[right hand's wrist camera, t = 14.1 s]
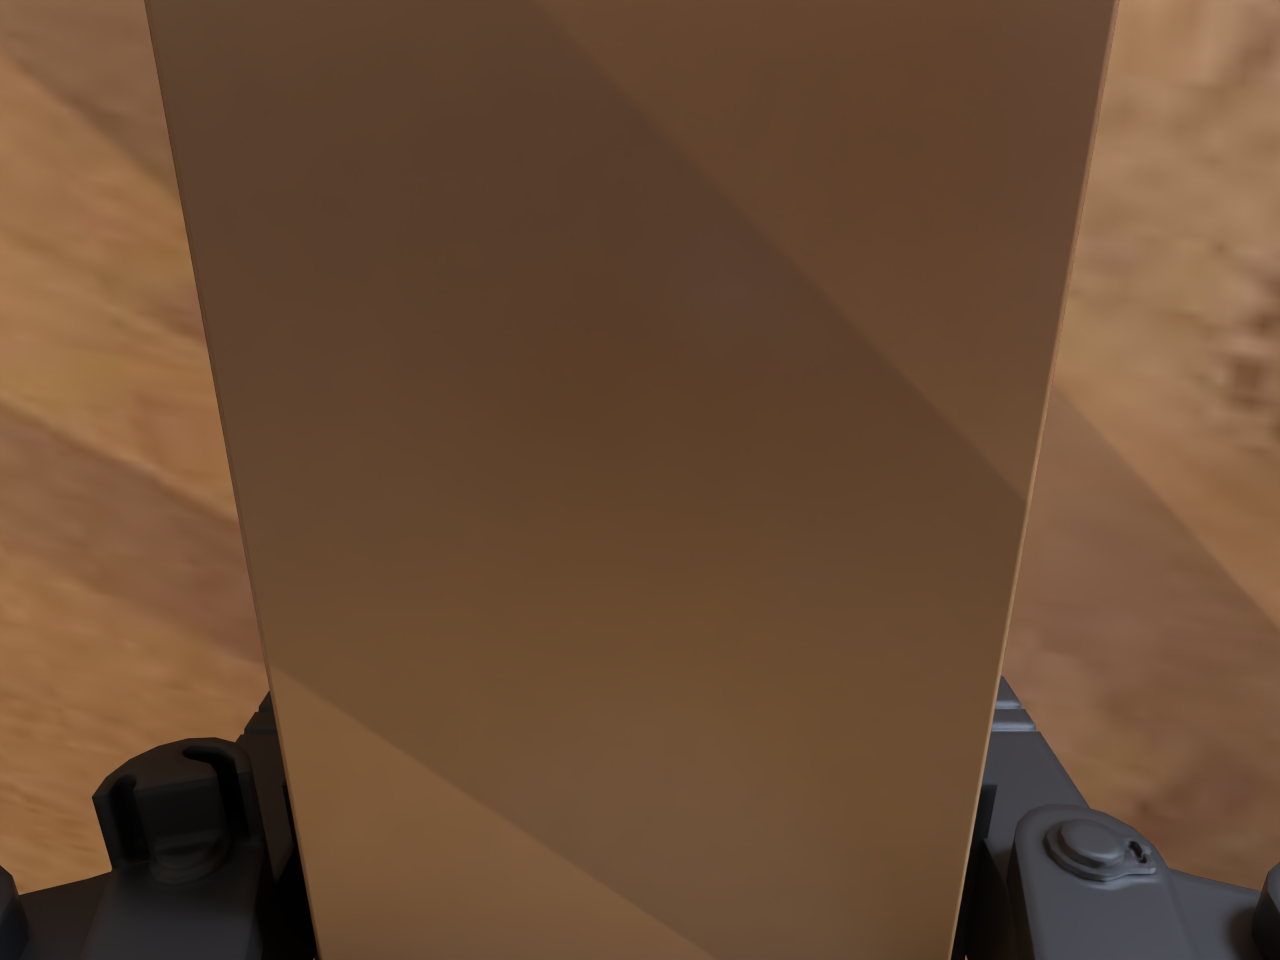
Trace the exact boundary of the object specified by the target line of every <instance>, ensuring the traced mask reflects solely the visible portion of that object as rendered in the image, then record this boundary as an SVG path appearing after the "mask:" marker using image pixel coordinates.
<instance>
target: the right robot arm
mask: <svg viewBox="0 0 1280 960" xmlns="http://www.w3.org/2000/svg"><path fill="white" fill-rule="evenodd" d="M92 800H93V803H94V806H95V810H96V813H97V817H98V820H99V824H100V827H101V831H102V834H103V838H104V841H105V844H106V848H107V851H108V855H109V858H110V862H111V865H112V871H111V872H108V873H105V874H102V875H98V876H95V877H92V878H89V879H85V880H81V881H77V882H72V883H68V884H64V885H60V886H56V887H51V888H47V889H43V890H39V891H35V892H30V893H26V894H22V895H19V894H18V891H17V888H16V885H15V882H14V880H13V877H12V875H11V874H10V873H8V872H7V871H6V870H5V869H4V868H3V867H2V866H0V960H313V959H314V958H315V960H319V957H318V952H317V946H316V941H315V935H314V930H313V924H312V919H311V913H310V908H309V902H308V897H307V891H306V886H305V880H304V875H303V869H302V864H301V858H300V853H299V847H298V842H297V836H296V831H295V825H294V820H293V814H292V809H291V803H290V798H289V792H288V787H287V781H286V776H285V770H284V765H283V759H282V754H281V748H280V743H279V737H278V732H277V726H276V721H275V715H274V710H273V704H272V699H271V693H270V691H269V692H268V694H267V695H266V697H265V698H264V700H263V701H262V703H261V704H260V706H259V711H258V712H255V713H254V715H253V716H252V718H251V719H250V721H249V723H248V724H247V726H246V727H245V729H244V735H240V736H239V738H238V739H237V741H236V742H231V741H227V740H223V739H219V738H216V737H211V738H188V739H184V740H180V741H176V742H172V743H168V744H164V745H160V746H157V747H155V748H153V749H151V750H149V751H147V752H144V753H142V754H140V755H138V756H136V757H134V758H132V759H130V760H128V761H127V762H126V763H124V764H123V765H122V766H120V767H119V768H118V769H116V770H115V771H114V772H112V773H111V774H110V775H108V776H107V777H106V778H105V779H104V781H103V782H102V784H101V785H100V786H99V788H98V789H97V790H96V792H95V793H94V795H93V796H92ZM965 955H966V956H967V959H968V960H1280V862H1279V863H1278V864H1277V865H1276V866H1275V867H1274V868H1272V869H1271V870H1270V871H1269V872H1268V875H1267V877H1266V880H1265V883H1264V886H1263V889H1262V892H1261V891H1257V890H1252V889H1248V888H1244V887H1240V886H1236V885H1231V884H1227V883H1223V882H1219V881H1214V880H1210V879H1206V878H1202V877H1198V876H1193V875H1190V874H1187V873H1184V872H1180V871H1177V870H1174V869H1171V868H1168V867H1167V865H1166V864H1165V862H1164V860H1163V859H1162V857H1161V856H1160V854H1159V852H1158V851H1157V849H1156V848H1155V846H1154V845H1153V844H1151V843H1150V842H1149V841H1148V840H1147V839H1146V838H1144V837H1143V836H1142V835H1141V834H1140V833H1139V832H1137V831H1136V830H1135V829H1134V828H1133V827H1131V826H1129V825H1127V824H1125V823H1123V822H1122V821H1120V820H1118V819H1116V818H1114V817H1112V816H1110V815H1108V814H1106V813H1104V812H1100V811H1097V810H1093V809H1090V807H1089V806H1088V804H1087V803H1086V801H1085V800H1084V798H1083V797H1082V795H1081V794H1080V792H1079V791H1078V789H1077V788H1076V786H1075V785H1074V783H1073V781H1072V780H1071V778H1070V777H1069V775H1068V774H1067V772H1066V771H1065V769H1064V768H1063V766H1062V765H1061V763H1060V762H1059V760H1058V759H1057V757H1056V756H1055V754H1054V753H1053V751H1052V750H1051V748H1050V747H1049V745H1048V744H1047V742H1046V741H1045V739H1044V738H1043V736H1042V735H1041V733H1040V732H1037V731H1036V725H1035V724H1034V722H1033V721H1032V719H1031V718H1030V716H1029V715H1028V713H1027V712H1026V710H1025V709H1022V708H1021V703H1020V701H1019V700H1018V698H1017V697H1016V695H1015V694H1014V692H1013V691H1012V689H1011V688H1010V686H1009V685H1008V683H1007V681H1006V680H1005V678H1004V677H1003V676H1000V682H999V687H998V693H997V699H996V705H995V710H994V716H993V722H992V727H991V733H990V739H989V744H988V750H987V756H986V761H985V767H984V773H983V778H982V784H981V790H980V795H979V801H978V807H977V812H976V818H975V824H974V829H973V835H972V841H971V846H970V852H969V858H968V863H967V869H966V875H965V880H964V886H963V892H962V898H961V903H960V909H959V915H958V920H957V926H956V932H955V937H954V943H953V949H952V954H951V960H965Z"/></svg>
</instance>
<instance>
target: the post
mask: <svg viewBox="0 0 1280 960" xmlns="http://www.w3.org/2000/svg"><path fill="white" fill-rule="evenodd" d="M144 1H145V7H146V12H147V18H148V23H149V29H150V34H151V40H152V45H153V51H154V56H155V62H156V67H157V73H158V78H159V84H160V89H161V95H162V100H163V106H164V111H165V117H166V122H167V128H168V133H169V139H170V144H171V150H172V155H173V161H174V166H175V172H176V177H177V183H178V188H179V194H180V199H181V205H182V210H183V215H184V221H185V226H186V232H187V237H188V243H189V248H190V254H191V259H192V265H193V270H194V276H195V281H196V287H197V292H198V298H199V303H200V309H201V314H202V320H203V325H204V331H205V336H206V342H207V347H208V353H209V358H210V364H211V369H212V375H213V380H214V386H215V391H216V397H217V402H218V408H219V413H220V419H221V424H222V430H223V435H224V441H225V446H226V452H227V457H228V463H229V468H230V474H231V479H232V485H233V490H234V496H235V501H236V507H237V512H238V518H239V523H240V529H241V534H242V540H243V545H244V551H245V556H246V562H247V567H248V573H249V578H250V584H251V589H252V594H253V600H254V605H255V611H256V616H257V622H258V627H259V633H260V638H261V644H262V649H263V655H264V660H265V666H266V671H267V677H268V682H269V688H270V693H271V699H272V704H273V710H274V715H275V721H276V726H277V732H278V737H279V743H280V748H281V754H282V759H283V765H284V770H285V776H286V781H287V787H288V792H289V798H290V803H291V809H292V814H293V820H294V825H295V831H296V836H297V842H298V847H299V853H300V858H301V864H302V869H303V875H304V880H305V886H306V891H307V897H308V902H309V908H310V913H311V919H312V924H313V930H314V935H315V941H316V946H317V952H318V957H319V960H951V954H952V949H953V943H954V937H955V932H956V926H957V920H958V915H959V909H960V903H961V898H962V892H963V886H964V880H965V875H966V869H967V863H968V858H969V852H970V846H971V841H972V835H973V829H974V824H975V818H976V812H977V807H978V801H979V795H980V790H981V784H982V778H983V773H984V767H985V761H986V756H987V750H988V744H989V739H990V733H991V727H992V722H993V716H994V710H995V705H996V699H997V693H998V687H999V682H1000V676H1001V670H1002V665H1003V659H1004V653H1005V648H1006V642H1007V636H1008V631H1009V625H1010V619H1011V614H1012V608H1013V602H1014V597H1015V591H1016V585H1017V580H1018V574H1019V568H1020V563H1021V557H1022V551H1023V546H1024V540H1025V534H1026V529H1027V523H1028V517H1029V512H1030V506H1031V500H1032V495H1033V489H1034V483H1035V477H1036V472H1037V466H1038V460H1039V455H1040V449H1041V443H1042V438H1043V432H1044V426H1045V421H1046V415H1047V409H1048V404H1049V398H1050V392H1051V387H1052V381H1053V375H1054V370H1055V364H1056V358H1057V353H1058V347H1059V341H1060V336H1061V330H1062V324H1063V319H1064V313H1065V307H1066V302H1067V296H1068V290H1069V284H1070V279H1071V273H1072V267H1073V262H1074V256H1075V250H1076V245H1077V239H1078V233H1079V228H1080V222H1081V216H1082V211H1083V205H1084V199H1085V194H1086V188H1087V182H1088V177H1089V171H1090V165H1091V160H1092V154H1093V148H1094V143H1095V137H1096V131H1097V126H1098V120H1099V114H1100V109H1101V103H1102V97H1103V91H1104V86H1105V80H1106V74H1107V69H1108V63H1109V57H1110V52H1111V46H1112V40H1113V35H1114V29H1115V23H1116V18H1117V12H1118V6H1119V1H1120V0H144Z"/></svg>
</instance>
